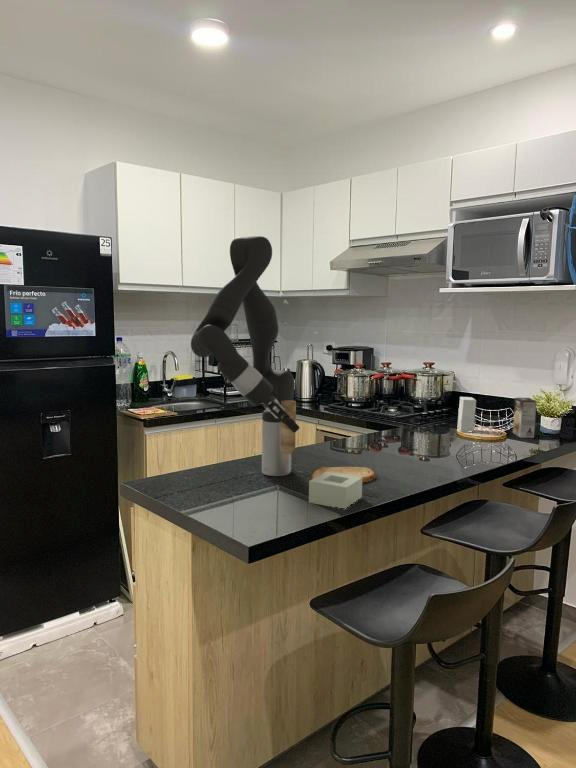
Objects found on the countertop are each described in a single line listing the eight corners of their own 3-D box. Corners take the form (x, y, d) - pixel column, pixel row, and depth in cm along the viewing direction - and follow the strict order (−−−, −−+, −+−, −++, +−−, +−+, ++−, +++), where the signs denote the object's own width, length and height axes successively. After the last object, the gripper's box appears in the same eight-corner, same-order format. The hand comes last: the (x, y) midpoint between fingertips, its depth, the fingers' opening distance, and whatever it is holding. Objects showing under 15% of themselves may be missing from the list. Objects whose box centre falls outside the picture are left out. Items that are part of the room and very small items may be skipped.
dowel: (285, 449, 161) (285, 399, 159) (297, 451, 159) (298, 401, 157) (277, 452, 158) (278, 401, 156) (290, 454, 156) (291, 403, 154)
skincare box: (456, 428, 263) (458, 396, 261) (470, 429, 263) (472, 396, 261) (460, 432, 255) (462, 399, 253) (474, 432, 255) (476, 399, 253)
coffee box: (511, 433, 255) (514, 397, 253) (526, 433, 255) (529, 397, 253) (519, 437, 246) (522, 400, 244) (534, 438, 246) (537, 400, 244)
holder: (326, 491, 167) (326, 471, 166) (361, 498, 161) (362, 477, 161) (308, 502, 157) (309, 480, 156) (345, 509, 152) (346, 487, 151)
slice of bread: (378, 476, 185) (378, 464, 185) (364, 491, 169) (364, 479, 168) (325, 469, 192) (325, 458, 192) (306, 483, 176) (306, 471, 175)
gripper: (265, 378, 147) (310, 423, 151) (258, 372, 161) (299, 414, 165) (244, 398, 147) (290, 444, 151) (239, 391, 161) (281, 432, 165)
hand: (295, 428), depth 158 cm, fingers closed on dowel, 4 cm apart
